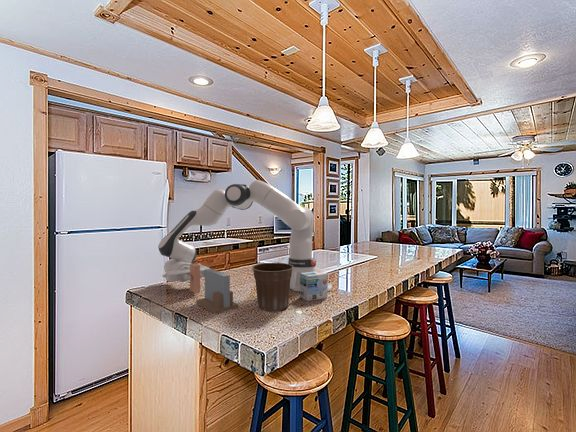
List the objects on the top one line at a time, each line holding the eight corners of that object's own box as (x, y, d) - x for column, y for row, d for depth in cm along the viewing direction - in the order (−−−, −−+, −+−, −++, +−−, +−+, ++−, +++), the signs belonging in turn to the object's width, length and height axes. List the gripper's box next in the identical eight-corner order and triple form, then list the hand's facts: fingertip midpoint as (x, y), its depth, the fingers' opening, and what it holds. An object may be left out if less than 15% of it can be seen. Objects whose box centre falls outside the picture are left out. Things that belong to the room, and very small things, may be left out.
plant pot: (259, 316, 119) (259, 272, 118) (247, 303, 134) (247, 264, 133) (299, 310, 125) (300, 268, 125) (283, 298, 140) (283, 261, 139)
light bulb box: (307, 301, 137) (307, 276, 136) (299, 297, 143) (299, 272, 142) (328, 298, 142) (328, 273, 141) (319, 294, 147) (319, 270, 147)
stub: (190, 290, 147) (189, 264, 146) (195, 289, 148) (195, 263, 148) (194, 293, 143) (194, 265, 142) (200, 292, 144) (200, 265, 144)
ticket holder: (196, 303, 133) (196, 270, 133) (218, 298, 140) (218, 267, 139) (215, 313, 121) (214, 277, 120) (238, 308, 128) (238, 273, 127)
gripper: (160, 268, 148) (172, 273, 138) (202, 262, 161) (216, 267, 151) (161, 282, 148) (172, 288, 138) (202, 275, 162) (216, 280, 151)
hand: (195, 277), depth 145 cm, fingers closed on stub, 2 cm apart
